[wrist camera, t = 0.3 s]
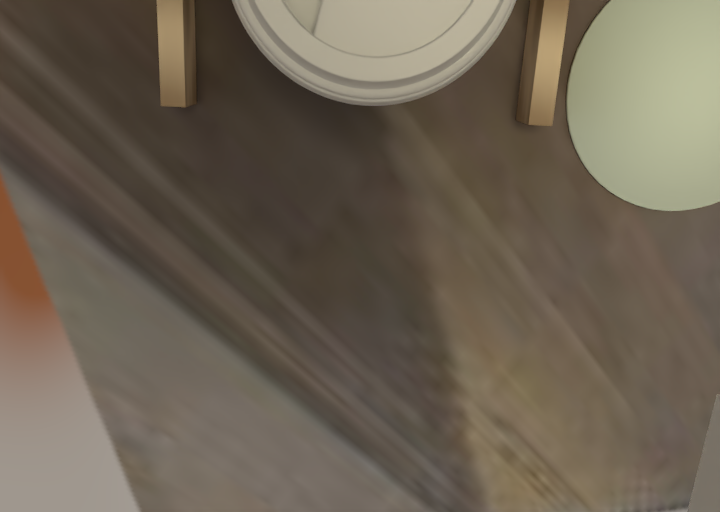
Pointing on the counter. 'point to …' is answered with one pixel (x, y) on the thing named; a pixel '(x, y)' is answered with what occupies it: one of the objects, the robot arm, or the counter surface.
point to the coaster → (650, 102)
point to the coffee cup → (373, 43)
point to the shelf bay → (535, 77)
